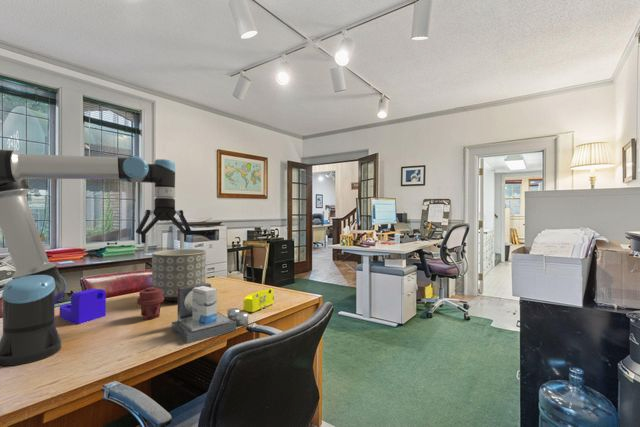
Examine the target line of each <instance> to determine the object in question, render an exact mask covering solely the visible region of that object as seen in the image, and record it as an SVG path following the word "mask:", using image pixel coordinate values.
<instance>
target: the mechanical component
mask: <svg viewBox="0 0 640 427" xmlns="http://www.w3.org/2000/svg"><path fill="white" fill-rule="evenodd" d="M138 294H139V297H138V298H137V299H136V305H137V304H138V305H139V306H140V307H141V309H140V311H141V312H140V316H142V317H143V320H144V321H148V320H150V319H155V318H160V314H161V303H164V300H165V299H164V296H162V289H159V288H156V287H152V286H151V287H146V288H145V289H141V290H139V293H138Z"/></svg>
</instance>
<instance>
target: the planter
mask: <svg viewBox="0 0 640 427" xmlns="http://www.w3.org/2000/svg"><path fill="white" fill-rule="evenodd" d="M206 255H207V254H206V250H205V249H198V248H197V249H194V248H190V249H189V248H184V249H180V248H179V249H167V250H165V249H163V250H159V251H157V250H156V251H154V252H152V253H151V262H152V264H151V287H156V288H159V289H162V296H164V300H166V301H170V302H178V287H185V286H191V285H198V284H205V283H206V266H207V265H206V261H207V260H206V259H207V258H206Z"/></svg>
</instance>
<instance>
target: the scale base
mask: <svg viewBox="0 0 640 427" xmlns="http://www.w3.org/2000/svg"><path fill="white" fill-rule="evenodd" d="M201 286H206V287H210V288H212V284H211V283H209V282H205V284H198V285H191V286H185V287H178V301H177V320H176V321H171V331H172V332H173V333H174V334H175V335H176V336H178V337H179V338H180V339H181V340H182V341H183V342H184V343H185V344H191V343H194V342H198V341H202V340H206V339H210V338H213V337H217V336H220V335H225V334H228V333H231V332H235V331H237V326H236V322H235V321H233V320H231V319H229V318H228V319H229V320H230V323H226V324H222V325H218V326H214V327H210V328H206V329H202V330H198V331H194V332H191V331H190V330H189V329H187V328H186V327H185V326H184V325H182V324H181V323H180V322H179V319H183V318H188V317H193V288H195V287H201ZM217 313H219V314H221V315H222V316H224V317H226V318H227V315H224V314H223V313H220V312H217Z"/></svg>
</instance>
